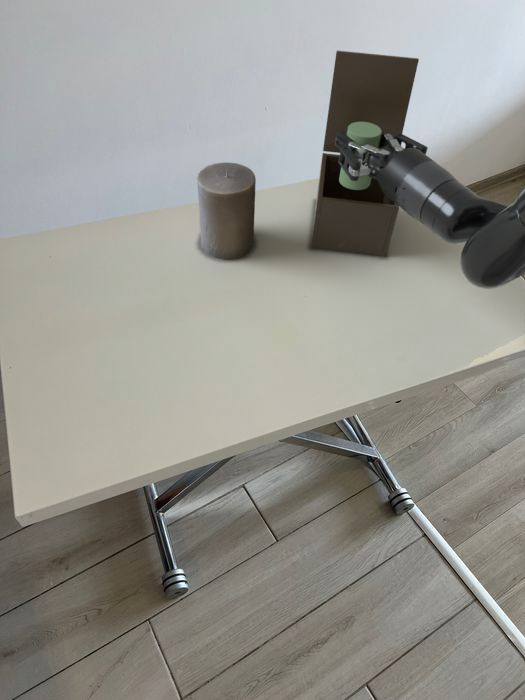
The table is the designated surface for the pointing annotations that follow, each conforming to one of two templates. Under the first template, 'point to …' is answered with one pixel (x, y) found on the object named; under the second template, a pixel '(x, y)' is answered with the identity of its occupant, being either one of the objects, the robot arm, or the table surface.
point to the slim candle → (360, 135)
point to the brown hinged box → (351, 214)
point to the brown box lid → (369, 93)
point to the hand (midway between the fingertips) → (353, 134)
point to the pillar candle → (226, 209)
